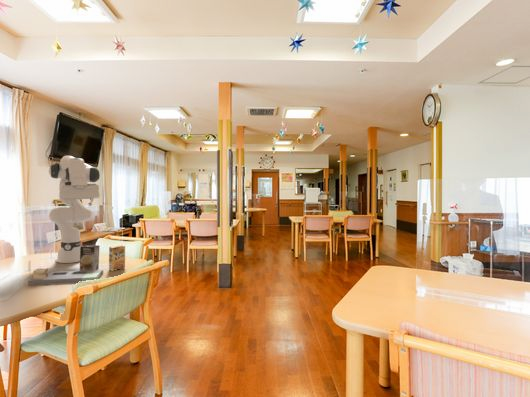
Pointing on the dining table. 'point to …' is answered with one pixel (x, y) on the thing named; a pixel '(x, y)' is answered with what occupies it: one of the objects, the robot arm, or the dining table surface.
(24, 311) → the dining table surface
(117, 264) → the candy box
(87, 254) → the coffee box
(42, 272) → the maple block
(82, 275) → the trap board
